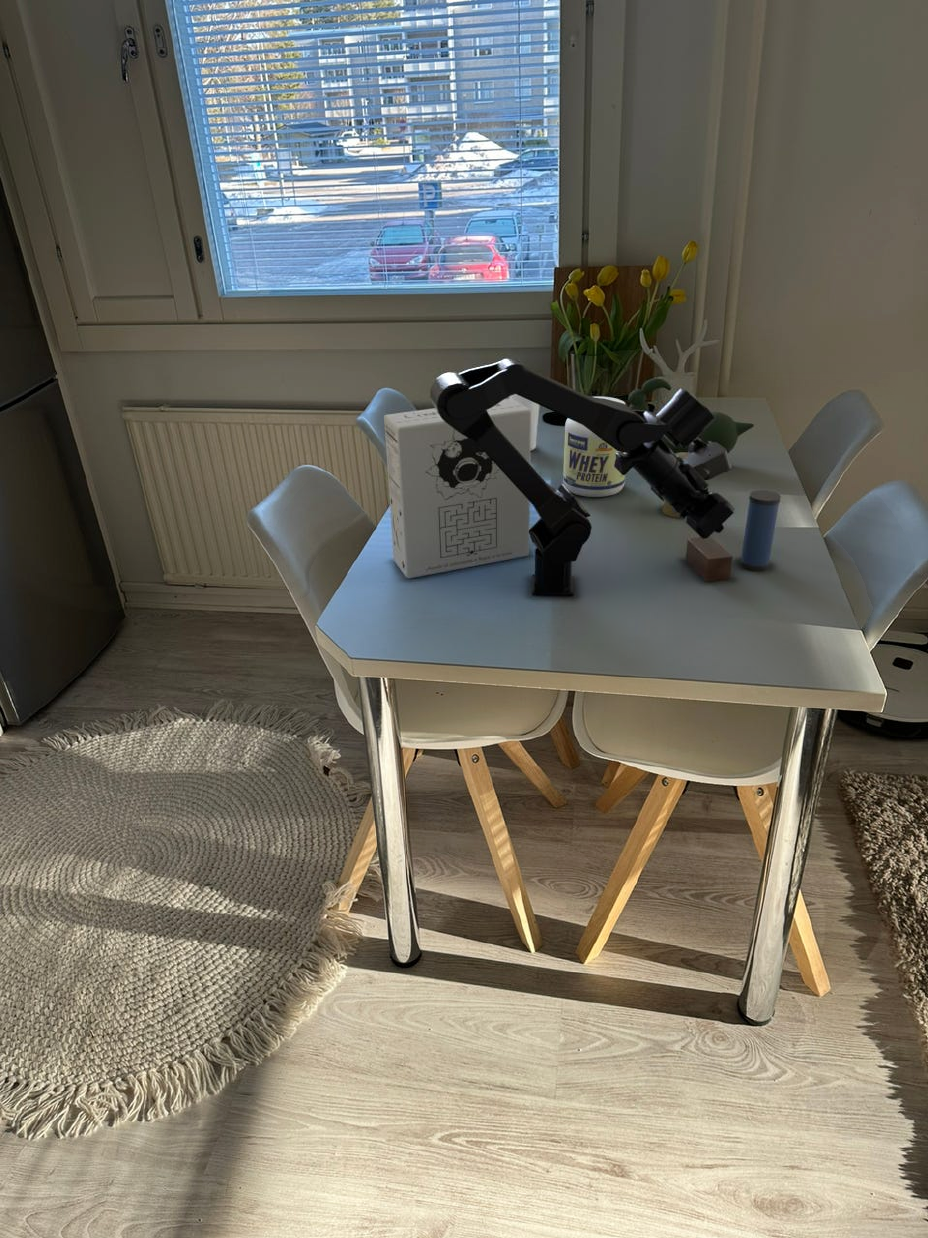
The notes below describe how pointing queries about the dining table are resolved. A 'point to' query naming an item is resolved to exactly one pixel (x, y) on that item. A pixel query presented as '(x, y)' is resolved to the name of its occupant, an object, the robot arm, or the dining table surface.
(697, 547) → the walnut block
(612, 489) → the supplement tub
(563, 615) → the dining table surface
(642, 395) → the toy figurine
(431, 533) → the cereal box
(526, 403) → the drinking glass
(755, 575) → the dining table surface
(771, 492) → the tube
